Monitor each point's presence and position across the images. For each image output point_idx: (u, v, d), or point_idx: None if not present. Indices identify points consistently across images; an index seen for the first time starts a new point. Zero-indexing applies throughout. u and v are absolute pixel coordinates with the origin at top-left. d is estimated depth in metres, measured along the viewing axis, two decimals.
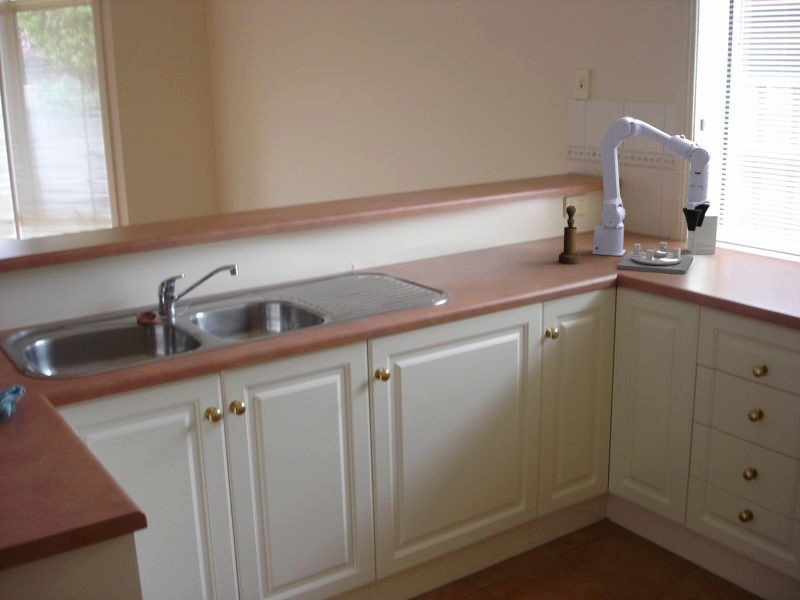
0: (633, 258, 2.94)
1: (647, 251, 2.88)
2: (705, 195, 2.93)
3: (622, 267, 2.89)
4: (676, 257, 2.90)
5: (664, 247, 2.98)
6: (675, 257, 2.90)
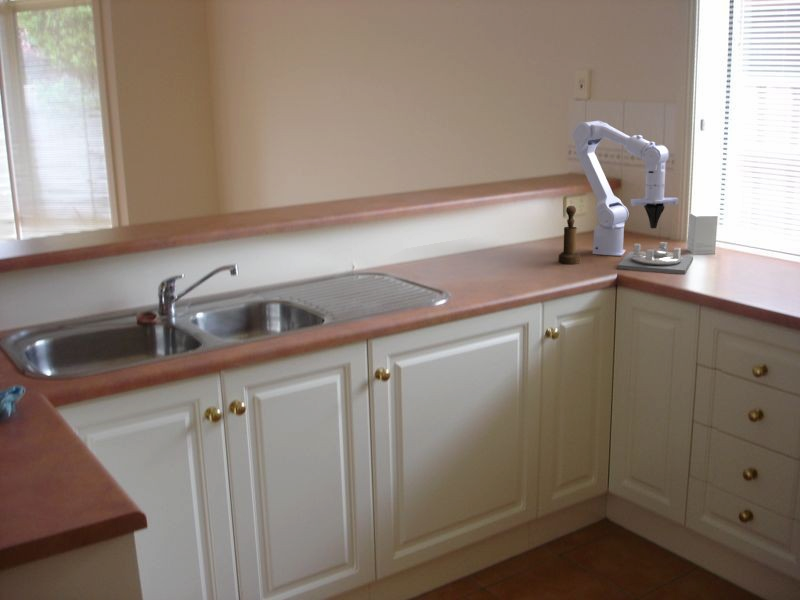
0: (633, 258, 2.94)
1: (647, 251, 2.88)
2: (654, 194, 2.93)
3: (622, 267, 2.89)
4: (676, 257, 2.90)
5: (664, 247, 2.98)
6: (675, 257, 2.90)
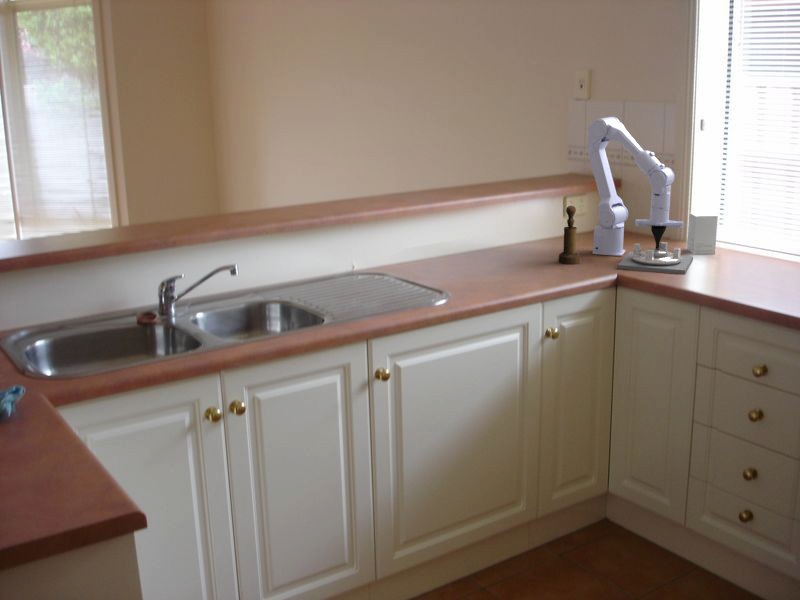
0: (633, 258, 2.94)
1: (647, 251, 2.88)
2: (656, 217, 2.95)
3: (622, 267, 2.89)
4: (676, 257, 2.90)
5: (664, 247, 2.98)
6: (675, 257, 2.90)
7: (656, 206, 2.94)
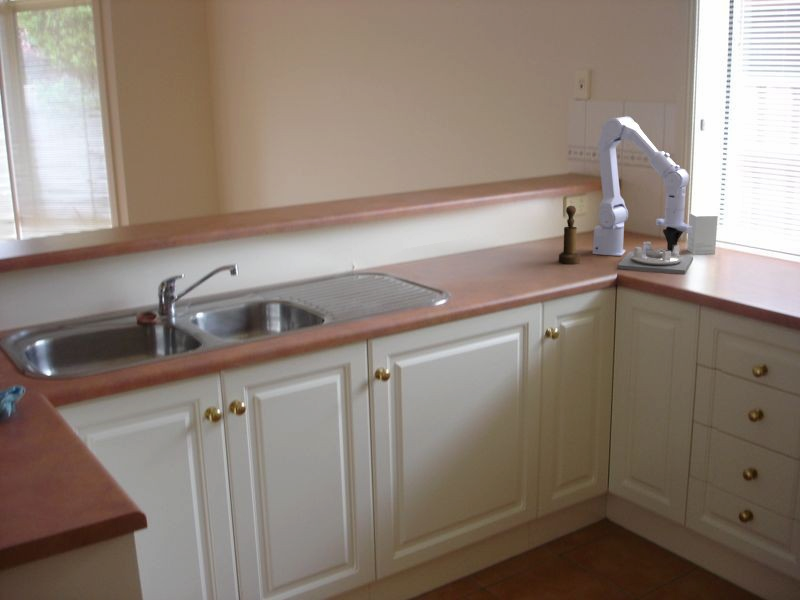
0: None
1: (635, 248, 2.93)
2: (665, 217, 2.94)
3: (622, 267, 2.89)
4: (663, 259, 2.88)
5: (674, 249, 2.94)
6: (663, 259, 2.88)
7: (671, 208, 2.91)
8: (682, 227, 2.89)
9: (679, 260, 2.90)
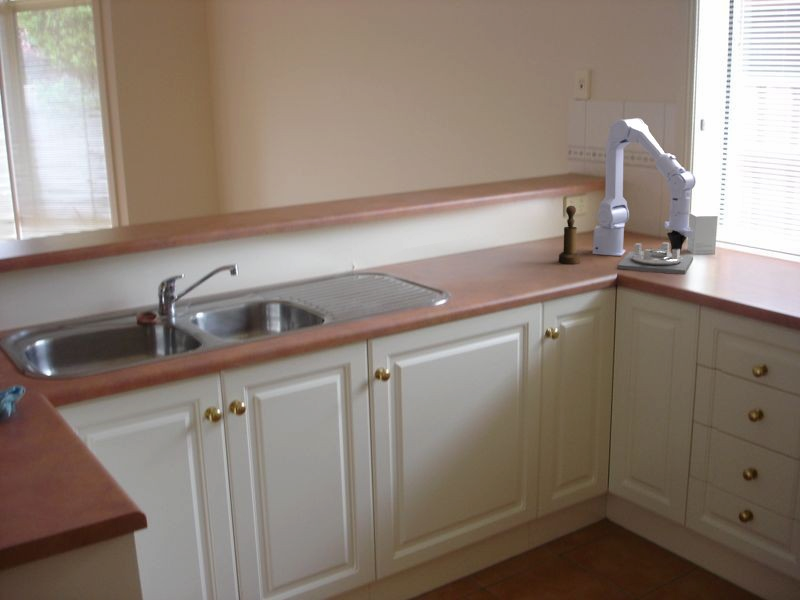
0: None
1: None
2: (669, 220, 2.89)
3: (622, 267, 2.89)
4: None
5: None
6: None
7: (674, 211, 2.86)
8: (682, 231, 2.84)
9: (662, 262, 2.87)
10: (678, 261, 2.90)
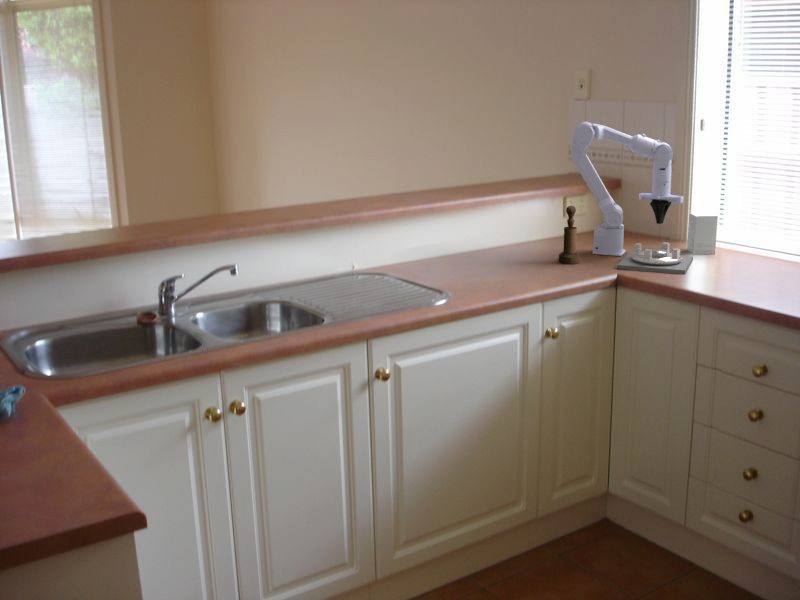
0: None
1: None
2: (655, 190, 3.01)
3: (622, 267, 2.89)
4: None
5: None
6: None
7: (662, 180, 2.99)
8: (675, 198, 2.98)
9: (662, 262, 2.87)
10: (678, 261, 2.90)
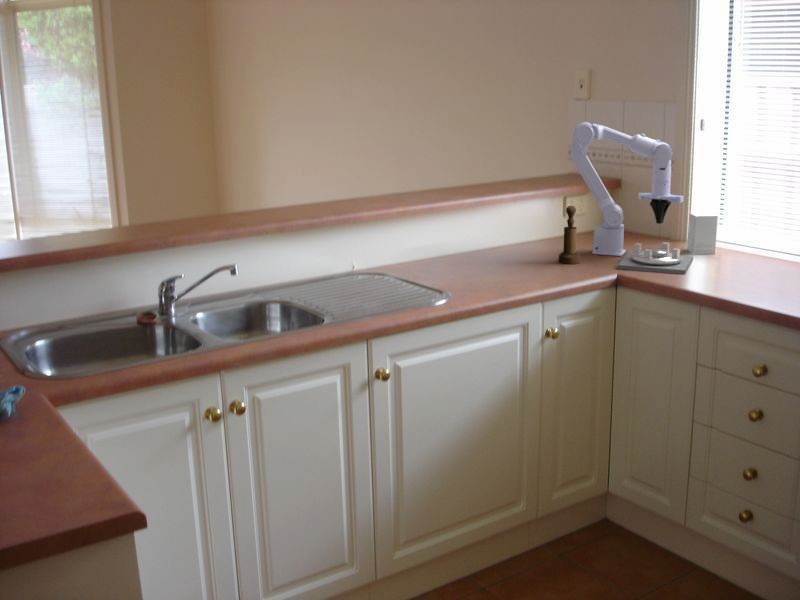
0: None
1: None
2: (654, 190, 3.01)
3: (622, 267, 2.89)
4: None
5: None
6: None
7: (662, 180, 2.99)
8: (675, 197, 2.99)
9: (662, 262, 2.87)
10: (678, 261, 2.90)
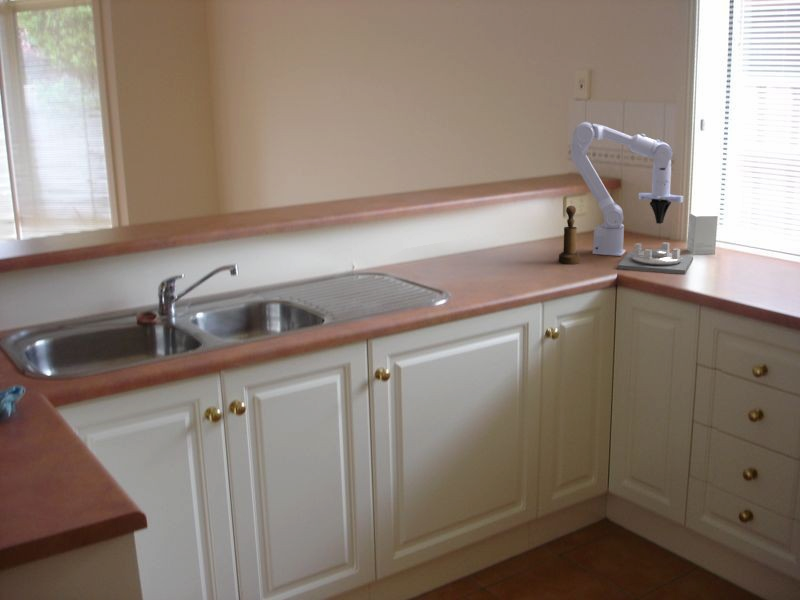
0: None
1: None
2: (654, 190, 3.01)
3: (622, 267, 2.89)
4: None
5: None
6: None
7: (662, 180, 2.99)
8: (675, 197, 2.99)
9: (662, 262, 2.87)
10: (678, 261, 2.90)
